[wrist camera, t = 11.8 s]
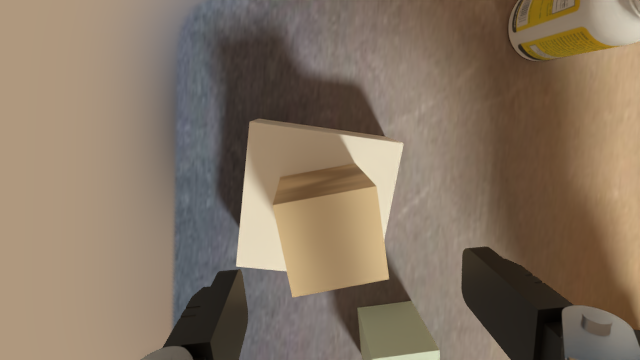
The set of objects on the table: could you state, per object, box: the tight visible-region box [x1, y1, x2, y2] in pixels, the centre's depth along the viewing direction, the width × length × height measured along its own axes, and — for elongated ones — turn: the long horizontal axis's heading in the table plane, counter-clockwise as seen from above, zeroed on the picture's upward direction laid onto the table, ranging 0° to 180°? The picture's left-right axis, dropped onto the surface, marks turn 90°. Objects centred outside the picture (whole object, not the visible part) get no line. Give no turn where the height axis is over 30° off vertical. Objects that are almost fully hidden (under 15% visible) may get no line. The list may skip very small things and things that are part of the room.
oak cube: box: [272, 163, 389, 297], centre depth 18 cm, size 5×5×6 cm
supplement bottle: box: [508, 0, 640, 61], centre depth 19 cm, size 5×5×10 cm
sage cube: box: [357, 301, 440, 360], centre depth 27 cm, size 5×5×6 cm
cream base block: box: [236, 119, 404, 271], centre depth 24 cm, size 10×10×5 cm
